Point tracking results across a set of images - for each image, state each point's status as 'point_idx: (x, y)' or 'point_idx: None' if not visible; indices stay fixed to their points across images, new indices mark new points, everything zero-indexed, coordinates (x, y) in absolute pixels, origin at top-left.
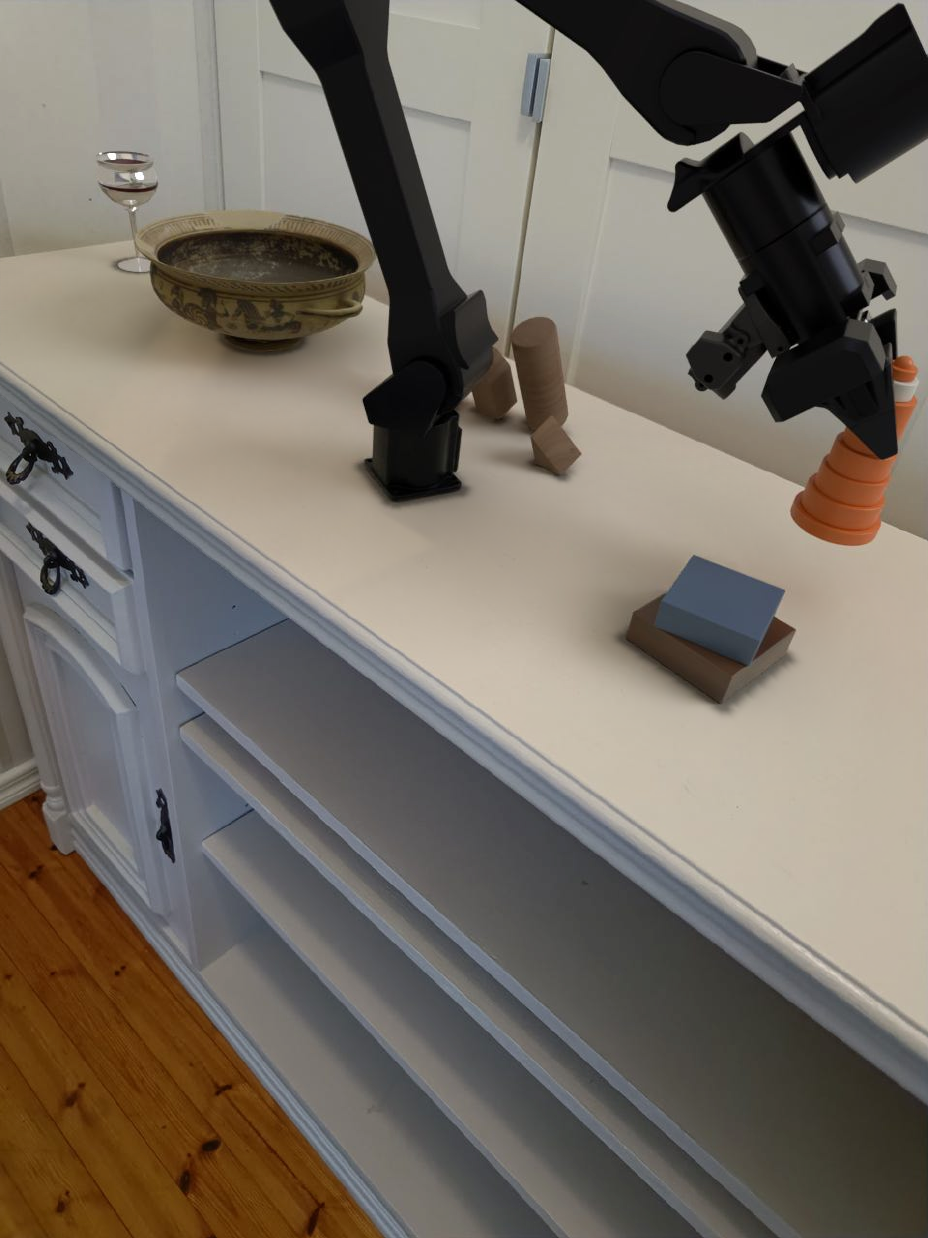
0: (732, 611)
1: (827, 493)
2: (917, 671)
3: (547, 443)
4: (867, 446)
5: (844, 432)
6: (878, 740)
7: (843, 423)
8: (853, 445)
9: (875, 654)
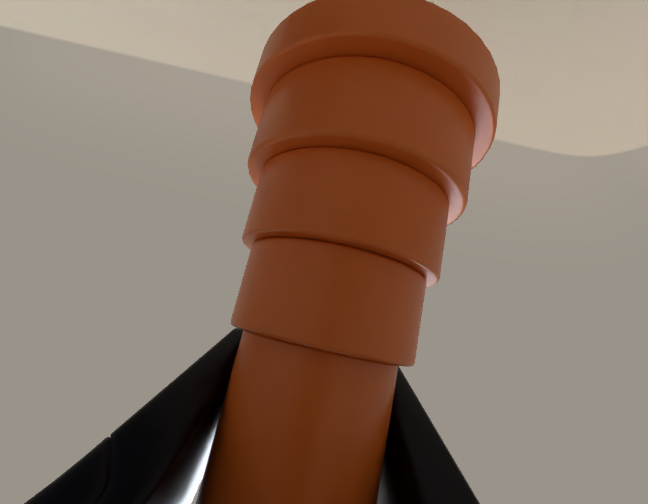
0: None
1: (269, 165)
2: None
3: None
4: (197, 361)
5: (298, 376)
6: (116, 18)
7: (77, 463)
8: (247, 344)
9: None
